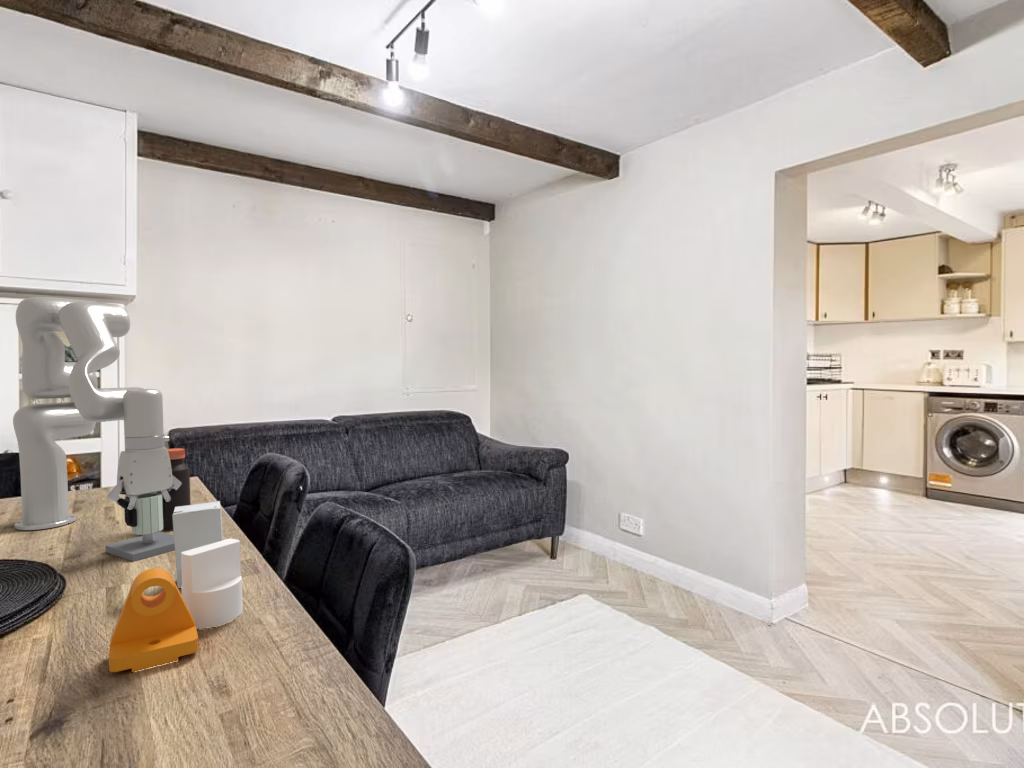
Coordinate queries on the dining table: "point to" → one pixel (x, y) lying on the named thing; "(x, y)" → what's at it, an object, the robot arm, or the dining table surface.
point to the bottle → (183, 491)
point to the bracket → (152, 625)
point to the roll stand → (142, 546)
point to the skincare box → (195, 529)
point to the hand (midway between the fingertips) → (147, 521)
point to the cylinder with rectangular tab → (212, 582)
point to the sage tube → (148, 514)
